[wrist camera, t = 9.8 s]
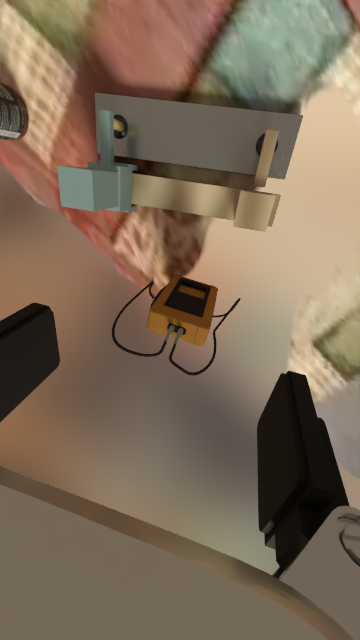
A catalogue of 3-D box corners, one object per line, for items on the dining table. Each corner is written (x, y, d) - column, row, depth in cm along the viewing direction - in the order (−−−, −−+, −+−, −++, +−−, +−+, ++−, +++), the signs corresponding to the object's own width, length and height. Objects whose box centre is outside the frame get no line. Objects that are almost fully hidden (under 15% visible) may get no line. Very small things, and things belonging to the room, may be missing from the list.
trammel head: (139, 122, 31) (90, 94, 21) (136, 210, 36) (96, 221, 26) (108, 118, 31) (47, 89, 21) (110, 206, 36) (60, 215, 26)
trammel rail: (294, 141, 29) (307, 131, 23) (270, 224, 34) (276, 233, 28) (100, 118, 32) (67, 103, 26) (102, 197, 36) (75, 200, 30)
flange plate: (300, 117, 28) (303, 115, 27) (283, 179, 31) (284, 179, 30) (99, 95, 31) (94, 92, 30) (101, 153, 34) (96, 152, 33)
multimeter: (143, 318, 45) (83, 402, 28) (153, 266, 40) (87, 330, 23) (221, 343, 44) (209, 446, 27) (242, 294, 39) (243, 382, 22)
